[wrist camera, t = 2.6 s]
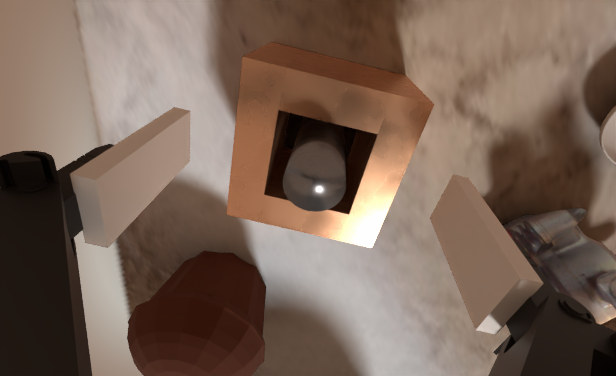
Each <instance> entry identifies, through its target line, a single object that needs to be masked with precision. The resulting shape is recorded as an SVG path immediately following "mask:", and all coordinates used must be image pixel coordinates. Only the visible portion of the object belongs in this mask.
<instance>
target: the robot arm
mask: <svg viewBox="0 0 616 376" xmlns="http://www.w3.org/2000/svg"><path fill="white" fill-rule="evenodd" d="M189 161H190V111H188V110H184V109H180V108H176V107H174V108H172V109H171V110H169V111H168V112H166V113H165V114H163V115H161V116H160V117H158V118H157V119H155V120H154V121H152V122H150V123H149V124H147V125H146V126H144V127H143V128H141V129H139V130H138V131H136V132H135V133H133V134H132V135H130V136H128V137H127V138H125V139H124V140H122V141H121V142H119V143H118V144H116V145H112V144H108V145H104V146H101V147H97V148H95V149H93V150H91V151H90V152H88V153H86V154H85V156H84V155H83V156H81V157H80V158H78V159H77V161H73V162H71V163H70V164H68V165H66V166H65V167H63V168H61V169H60V170H58V171H57V170H56V166H55V162H54V159H53V157H52V156H51V155H49V154H47V153H45V152H39V151H21V152H13V153H10V154H6V155H3V156H1V157H0V376H92V371H91V363H90V354H89V348H88V339H87V331H86V323H85V315H84V308H83V300H82V292H81V284H80V277H79V269H78V261H77V253H76V246H75V242H74V237H75V236H76V235H77V234H78V233H79V232H80V231H82V230H83V234H84V238H85V242H86V243H89V244H94V245H98V246H102V247H107V248H108V247H109V246H110V245H111V244H112V243H113V242H114V241H115V240H116V239H117V238H118V237H119V236H120V234H121V233H122V232H123V231H124V230H125V229H126V228H127V227H128V226H129V225H130V224H131V223H132V222H133V221H134V220H135V219H136V218H137V216H138V215H139V214H140V213H141V212H142V211H143V210H144V209H145V208H146V207H147V206H148V205H149V204H150V203H151V202H152V201H153V200H154V198H155V197H156V196H157V195H158V194H159V193H160V192H161V191H162V190H163V189H164V188H165V187H166V186H167V185H168V184H169V183H170V182H171V180H172V179H173V178H174V177H175V176H176V175H177V174H178V173H179V172H180V171H181V170H182V169H183V168H184V167H185V166H186V165H187V164H188V162H189ZM430 219H431V222H432V224H433V227H434V229H435V232H436V234H437V237H438V239H439V241H440V244H441V246H442V249H443V251H444V254H445V256H446V259H447V261H448V264H449V266H450V268H451V271H452V273H453V276H454V278H455V281H456V283H457V286H458V288H459V291H460V293H461V295H462V298H463V300H464V303H465V305H466V308H467V310H468V313H469V315H470V318H471V320H472V322H473V325H474V327H475V330H478V331H482V332H487V333H491V334H497V333H498V332H499V331H500V330H501V329H502V328H503V327H504V326H505V325H507V327H508V329H509V331H510V333H511V335H510V336H509V337H508V338H507V339H506V340H505V341H504V342H503V343H502V344H501V345H500V346H499V347H498V348H497V349H496V350H495V351H494V352H493V353H495V354H496V355H497V354H498V353H499V354H498V356H497V359H496V361H495V363H494V365H493V367H492V369H491V372H490V374H489V376H616V331H613V330H611V329H609V328H607V327H604V326H602V325H600V324H598V323H596V320H595V318H594V317H593V315H592V314H591V312H590V311H589V310H588V309H587V308H586V307H584V306H583V305H582V304H581V303H579V302H578V301H577V300H575V299H573V298H572V297H570V296H568V295H566V294H562V293H559V292H556V290H555V289H554V287H553V286H552V285H551V283H550V282H549V281H548V279H547V278H546V277H545V275H544V274H543V273H542V271H541V270H540V269H539V267H537V264H536V263H535V262H534V260H533V259H531V256H530V255H529V254H528V252H527V251H526V250H525V248H524V247H523V246H522V245H520V244H519V243H518V242H517V241H516V240H515V239H514V238H511V237H510V236H509V234H508V233H507V231H506V230H505V229H504V227H503V226H502V224H501V223H500V222H499V220H498V219H497V217H496V216H495V215H494V213H493V212H492V210H491V209H490V208H489V206H488V205H487V203H486V202H485V201H484V199H483V198H482V196H481V195H480V194H479V192H478V191H477V189H476V188H475V187H474V185H473V184H472V182H471V181H470V180H469V178H466V177H462V176H458V175H453V176H452V178H451V180H450V182H449V184H448V185H447V187H446V189H445V191H444V193H443V195H442V196H441V198H440V200H439V202H438V204H437V206H436V208H435V209H434V211H433V213H432V215H431V217H430Z"/></svg>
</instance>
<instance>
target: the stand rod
mask: <svg viewBox="0 0 616 376" xmlns="http://www.w3.org/2000/svg"><path fill="white" fill-rule="evenodd" d="M283 189H284V192H285V194H286V196H287V198H288V199H289V200H290V201H291V202H292V203H293V204H294V205H295V206H297V207H299V208H301V209H303V210H306V211H312V212H319V211H325V210H328V209H330V208H332V207H334V206H335V205H337V204H338V203H339V202H340V200H341V199H342V198H343V196H344V193H345V190H346V172H345V144H344V126H342V125H338V124H334V123H330V122H326V121H322V120H317V119H313V118H309V117H305V116H304V117H303V120H302V123H301V126H300V129H299V132H298V135H297V138H296V141H295V144H294V147H293V150H292V153H291V156H290V159H289V162H288V165H287V168H286V171H285V174H284V177H283Z"/></svg>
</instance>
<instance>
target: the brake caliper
mask: <svg viewBox="0 0 616 376" xmlns="http://www.w3.org/2000/svg"><path fill="white" fill-rule="evenodd" d="M586 215H587V211H586V210H584V209H582V208H572V209H564V210H557V211H551V212H548V213H544V214H541V215H524V216H520V217H518V218H515V219H514V220H512V221H510V222H509V223H507V224H505V225H504V226H503V227H504V229H505V230H506V231H507V233H508V234H509V236H510V237H511V238H514V239H515V240H516V241H517V242H518V243H519V244H520V245H522V246H523V247H524V248H525V250H526V251H527V252H528V254H529V255H530V256H531V259H533V260H534V262H535V263H536V264H537V267H539V269H540V270H541V271H542V273H543V274H544V275H545V277H546V278H547V279H548V281H549V282H550V283H551V285H552V286H553V287H554V289H555V290H556V292H559V293H562V294H566V295H568V296H570V297H572V298H573V299H575V300H577V301H578V302H579V303H581V304H582V305H583V306H584V307H586V308H587V309H588V310H589V311H590V312H591V314H592V315H593V317H594V318H595V320H596V323H598V324H603V323H605V322H607V321H609V320H611V319H613V318H615V317H616V254H614V253H613V252H612V251H611V250H609V249H608V248H607V247H606V246H605V245H604V244H603V243H601V242H598V241H596V240H593V239H591V238H589V237H587V236H586V235H584V233H583V232H582V231H581V229H580V228H579V227H578V226H577V224H578V223H579V222H580V221H581V220H582V219H584V217H585V216H586Z"/></svg>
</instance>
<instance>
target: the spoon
mask: <svg viewBox="0 0 616 376" xmlns="http://www.w3.org/2000/svg"><path fill="white" fill-rule="evenodd" d="M599 139H600V145H601V148H602V150H603V152H604V153H605V155H606V156H607V157H608V158H609V159H610V160H611V161H612V162H613V163H614V164H615V165H616V105H615V106H614V108H613V109H612V110H611V111H610V112H609V113H608V115H607V116H606V118H605V120H604V121H603V123H602V126H601V129H600V135H599Z"/></svg>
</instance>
